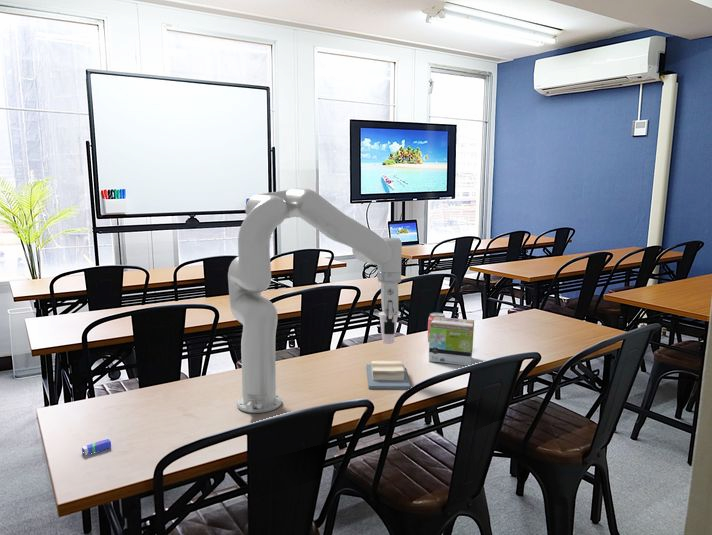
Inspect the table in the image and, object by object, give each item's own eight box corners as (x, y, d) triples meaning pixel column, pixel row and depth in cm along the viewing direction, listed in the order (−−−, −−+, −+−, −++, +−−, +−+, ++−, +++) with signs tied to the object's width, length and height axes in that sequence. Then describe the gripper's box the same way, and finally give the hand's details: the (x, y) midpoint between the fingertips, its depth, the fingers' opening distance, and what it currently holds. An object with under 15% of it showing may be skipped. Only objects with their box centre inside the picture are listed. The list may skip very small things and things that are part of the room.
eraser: (82, 454, 127) (81, 446, 127) (109, 446, 131) (108, 438, 131) (84, 457, 126) (83, 449, 125) (111, 449, 130) (111, 441, 129)
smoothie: (402, 342, 176) (402, 300, 174) (389, 346, 172) (390, 303, 169) (386, 338, 181) (387, 297, 178) (374, 342, 176) (374, 300, 174)
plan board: (410, 389, 168) (410, 386, 168) (368, 388, 168) (368, 385, 168) (403, 367, 188) (403, 364, 188) (366, 367, 188) (366, 364, 188)
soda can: (447, 342, 217) (449, 313, 215) (440, 347, 211) (442, 317, 209) (431, 339, 221) (432, 311, 219) (424, 344, 215) (425, 314, 213)
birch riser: (403, 380, 173) (404, 371, 173) (372, 380, 173) (372, 371, 172) (400, 369, 183) (401, 360, 182) (371, 369, 183) (371, 360, 182)
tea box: (428, 362, 194) (429, 322, 191) (431, 353, 203) (433, 315, 201) (470, 366, 190) (472, 325, 187) (472, 357, 199) (474, 318, 197)
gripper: (403, 281, 164) (402, 338, 167) (398, 272, 181) (397, 323, 184) (379, 281, 164) (378, 338, 167) (376, 271, 181) (375, 323, 184)
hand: (388, 330), depth 176 cm, fingers closed on smoothie, 6 cm apart
